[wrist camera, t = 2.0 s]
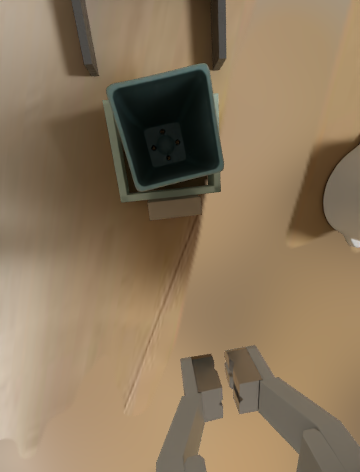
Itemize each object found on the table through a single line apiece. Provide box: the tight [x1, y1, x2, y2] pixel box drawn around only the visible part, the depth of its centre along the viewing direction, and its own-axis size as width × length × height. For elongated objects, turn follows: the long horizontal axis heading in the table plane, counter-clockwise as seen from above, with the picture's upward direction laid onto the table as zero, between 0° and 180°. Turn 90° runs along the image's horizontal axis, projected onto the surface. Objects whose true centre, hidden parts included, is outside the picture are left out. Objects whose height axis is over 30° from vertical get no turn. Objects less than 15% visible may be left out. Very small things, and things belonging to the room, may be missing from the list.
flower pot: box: [106, 63, 224, 192], centre depth 21 cm, size 9×9×9 cm
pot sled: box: [102, 93, 221, 221], centre depth 23 cm, size 13×13×6 cm
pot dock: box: [71, 0, 226, 76], centre depth 21 cm, size 15×8×2 cm, turn 94°
